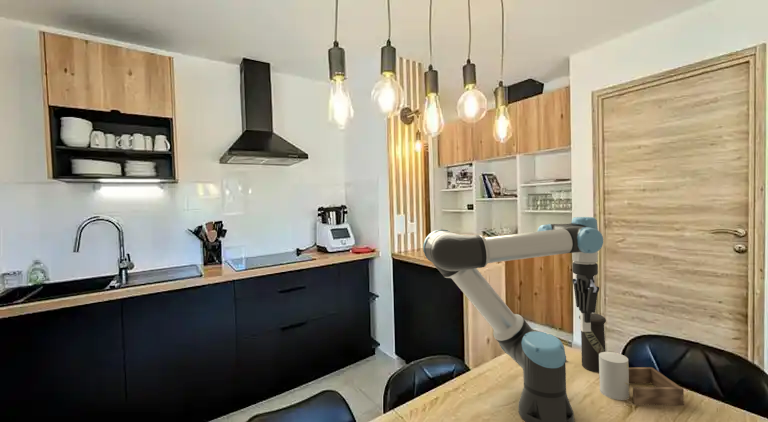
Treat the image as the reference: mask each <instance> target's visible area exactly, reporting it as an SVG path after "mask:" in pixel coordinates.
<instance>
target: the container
mask: <svg viewBox="0 0 768 422" xmlns="http://www.w3.org/2000/svg"><path fill="white" fill-rule="evenodd" d="M578 318H579V320H580V315H579V316H578ZM606 321H607V319H606V317H605V316H604V315H602V314H598V313H596V312H595V313H591V332H582V331H581V330H580V338H581V339H580V341H581V345H580V346H581V366H582V367H583V368H584V369H585V370H587V371H591V372H593V373H594V372H596V373H599V353H601V352H607V350H606V335H605V332H606V331H605V323H606Z"/></svg>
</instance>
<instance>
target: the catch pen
mask: <svg viewBox="0 0 768 422" xmlns="http://www.w3.org/2000/svg"><path fill="white" fill-rule="evenodd" d="M630 384H651V385H653V386H648V387H647V386H645V387H643V386H640V387H639V386H636V387H635V386H633V387H632V393H633V394H632V397H633V398H632V401H633V404H634V405H635V406H684V405H685V400H684V399H685V397H684V396H685V395H684V391H685V389H684V388H683V387H682V386H680V385H679V384H677V383H676V382H674V381H673V380H671V379H670V378H668V377H667V376H665V375H664V374H663V373H662V372H660V371H658V370H657V369H655V368H654V367H651V366H648V367H647V366H645V367H644V366H641V367H638V366H637V367H629V385H630Z"/></svg>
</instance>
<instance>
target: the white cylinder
mask: <svg viewBox="0 0 768 422" xmlns="http://www.w3.org/2000/svg"><path fill="white" fill-rule="evenodd" d="M598 373H599V374H598V375H599V392H600V393H601V394H602V396H605V397H606V398H609V399H612V400H617V401H626V400H629V399H630V384H629V358H628V357H627V356H626V355H623V354H621V353H617V352H614V351H613V352H612V351H606V352H601V353H599V372H598Z"/></svg>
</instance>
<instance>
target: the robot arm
mask: <svg viewBox="0 0 768 422" xmlns="http://www.w3.org/2000/svg"><path fill="white" fill-rule="evenodd" d="M603 245H604V237H603V233H602V232H601V231H599V228H598V220H597V218H596V217H594V216H593V217H591V216H575V217H573V218H572V219H571V223H547V224H541V225H539V226H538V228H537V231H530V232H529V231H528V232H522V233H521V232H520V233H514V234H506V235H505V234H504V235H496V236H486V237H483V236H482V235H481V234H474V235H473V234H472V235H471V234H470V235H469V234H460V233H459V234H458V233H455V232H452V231H449V230H446V229H435V230H433V231H432V232H430V233H429V234H428V235H427V236H426V238H425V239H424V242H423V245H422V248H423V253H424V257H426V259H427V260H428V261H429V262H431V264H433V265H434V267H435V268H436V269H437V270H438V271H439V273H440V274H441V275H442V276H443V278H446V279H451V280H452V281H453V282H454V283H455V285H456V286H457V287H458V288H459V289H460V291H461V292H462V293H463V294H464V295H465V297H466V298H467V299H468V300H469V302H470V303H471V304H472V305H473V306H474V308H475V309H476V310H477V311H478V313H479V314H480V315H481V316H482V317H483V318H484V320H485V321H486V322H487V323H488V324H489V326H490V327H491V328H492V329H493V330H492V331H493V333H492V334H493V338H494V339H495V340H496V341H497V343H498V344H499V346H500V347H501V350H502V351H503V352H504V353H506V354H507V355H508V356H509V357H510V358H511V359H512V360H513V361H515V363H516V364H517V365H518V366H519V367H521V368H522V371H523V372H522V373H523V374H522V375H523V389H522V391H521V394H520V397H519V401H518V413H519V416H520V418H521V419H522V420H523V421H525V422H575V414H574V411H573V410H574V409H573V408H572V405H571V402H570V399H569V396H568V394H567V369H566V366H567V365H566V362H565V360H566V361H567V354H566V351H565V345H564V343H563V341H561V340H560V338H558V337H557V336H555V335H553V334H551V333H547V332H545V331H536V330H534V329H533V328H532V327H531V326H530V325H529V323H528V322H527V321H526V319H524V317H523V316H522V315H520V314H518V313H514V312H513V311H512V310H511V309H510V307H508V305H507V304H506V302H505V301H504V300H503V299H502V298H501V296H500V295H499V294H498V293H497V291H496V290H495V289H494V287H492V285H491V284H490V283H489V281H487V279H486V278H485V277H484V275H482V273H481V272H480V270H479V269H481V268H485V267H486V266H487V264H491V263H501V262H508V261H516V260H524V259H532V258H540V257H547V256H557V255H564V254H571V256H572V257H571V258H572V261H573V262H572V273H573V274H575V277H576V278H572V279H571V281H572V284H573V289H574V296H575V297H574V298H575V306H576V308H578V311H579V313H580V314H579V316H580V319H579V321H580V322H579V323H580V332H581V331H582V332H591V313H595V314H596V307H597V301H598V293H599V291H600V286H597V285H595V282H596V281H595V276H597V275H598V274H599V265H598V263H597V262H598V261H599V260H598V259H599V258H598V257H599V256H598V255H599V251H600V250H601V249H602V247H603Z"/></svg>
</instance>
